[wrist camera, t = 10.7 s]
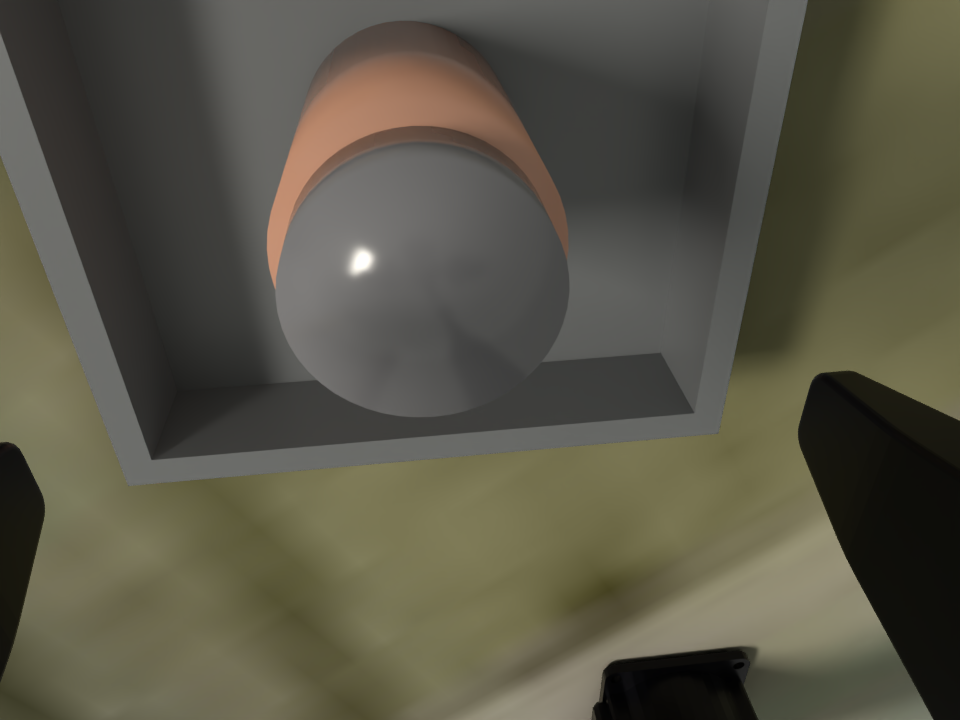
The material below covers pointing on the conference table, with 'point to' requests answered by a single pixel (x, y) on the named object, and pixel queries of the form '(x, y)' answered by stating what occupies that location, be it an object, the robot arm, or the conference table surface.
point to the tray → (257, 174)
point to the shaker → (416, 228)
